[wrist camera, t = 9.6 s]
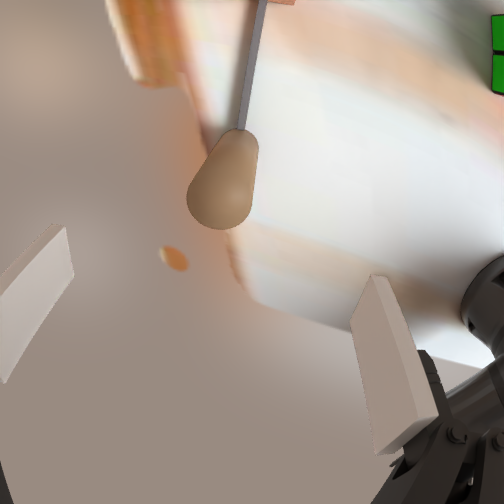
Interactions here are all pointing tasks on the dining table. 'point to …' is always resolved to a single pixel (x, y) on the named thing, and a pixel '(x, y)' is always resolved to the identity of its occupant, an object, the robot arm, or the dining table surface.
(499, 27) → the puzzle cube
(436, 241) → the dining table surface
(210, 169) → the tethered block
